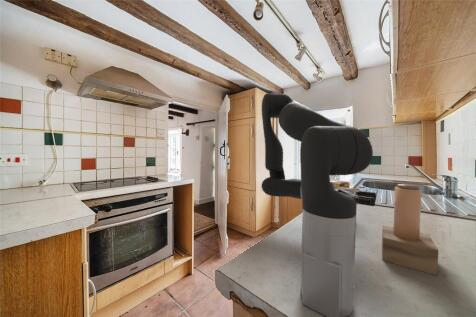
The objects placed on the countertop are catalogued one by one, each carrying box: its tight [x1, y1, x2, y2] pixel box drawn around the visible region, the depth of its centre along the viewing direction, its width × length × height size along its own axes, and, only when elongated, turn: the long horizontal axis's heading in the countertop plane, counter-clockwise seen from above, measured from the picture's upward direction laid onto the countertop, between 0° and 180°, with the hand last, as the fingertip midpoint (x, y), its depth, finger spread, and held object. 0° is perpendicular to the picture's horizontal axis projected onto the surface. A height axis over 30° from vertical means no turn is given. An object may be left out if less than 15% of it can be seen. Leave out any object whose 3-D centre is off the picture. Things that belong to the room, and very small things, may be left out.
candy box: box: [331, 180, 351, 189], centre depth 82 cm, size 9×4×15 cm, turn 123°
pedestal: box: [381, 225, 439, 276], centre depth 49 cm, size 10×10×6 cm
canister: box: [392, 183, 423, 241], centre depth 49 cm, size 5×5×14 cm
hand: (375, 199), depth 53 cm, fingers open, 8 cm apart
